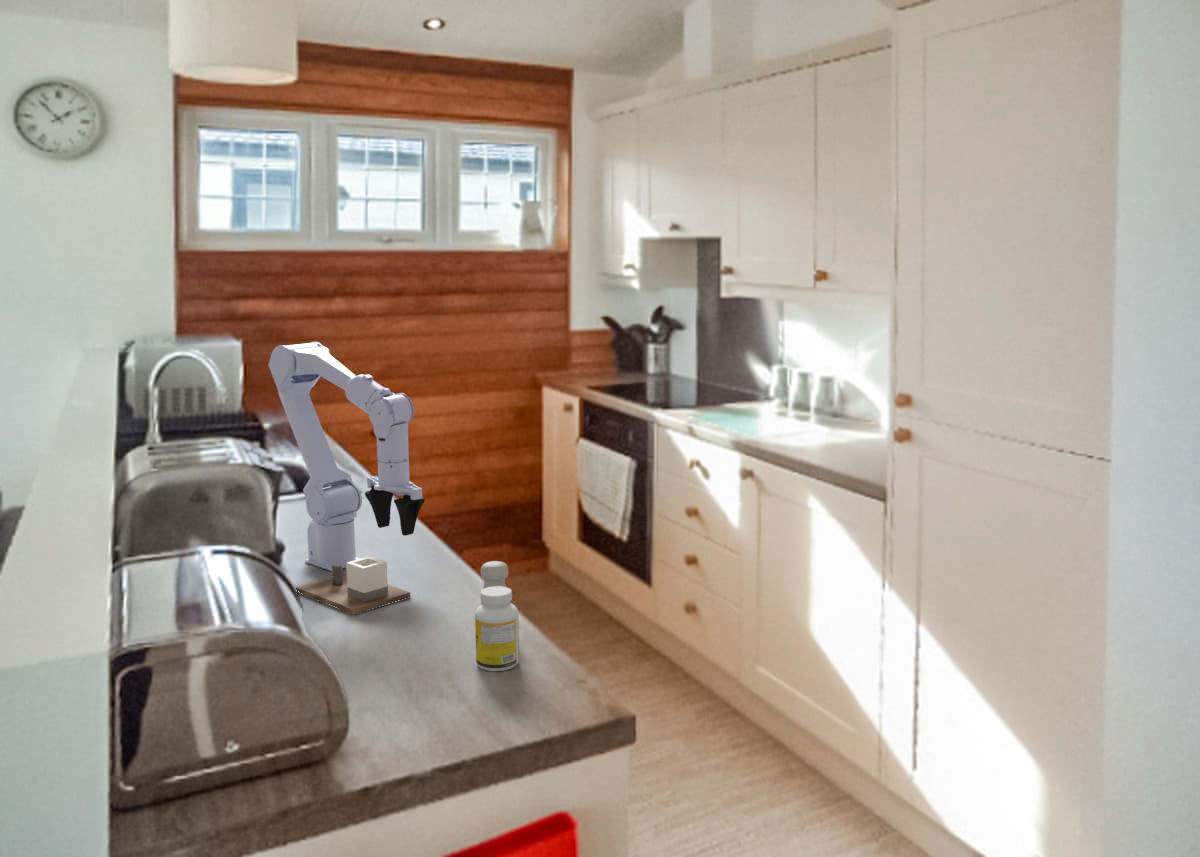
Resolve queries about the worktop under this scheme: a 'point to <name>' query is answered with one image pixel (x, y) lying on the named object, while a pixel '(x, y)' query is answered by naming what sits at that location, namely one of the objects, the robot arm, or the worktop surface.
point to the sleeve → (367, 578)
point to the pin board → (346, 593)
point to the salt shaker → (494, 574)
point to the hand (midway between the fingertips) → (395, 530)
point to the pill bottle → (497, 630)
